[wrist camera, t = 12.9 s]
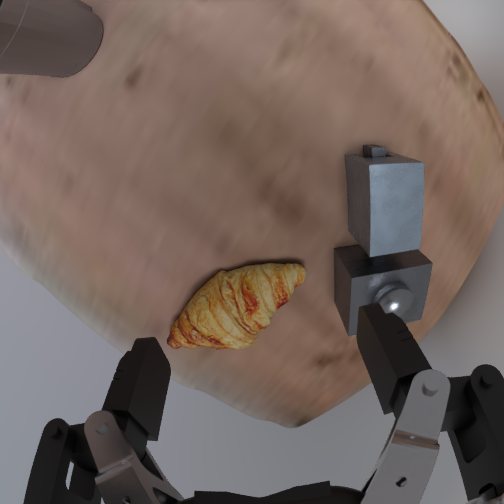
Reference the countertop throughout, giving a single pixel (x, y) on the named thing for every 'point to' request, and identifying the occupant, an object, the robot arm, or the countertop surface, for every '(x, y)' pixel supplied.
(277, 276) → the croissant
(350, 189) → the notched metal block
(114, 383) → the robot arm
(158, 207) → the countertop surface
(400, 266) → the grey knobbed block
